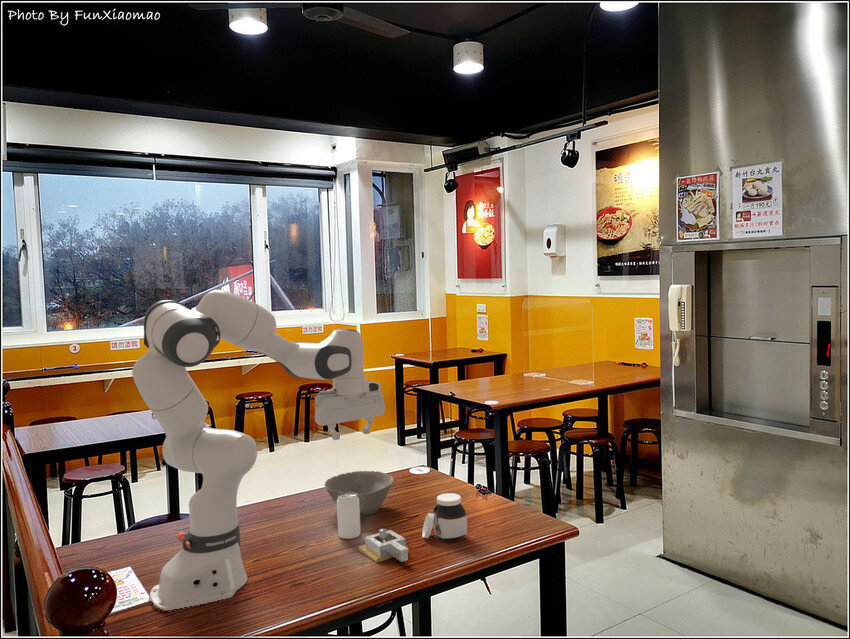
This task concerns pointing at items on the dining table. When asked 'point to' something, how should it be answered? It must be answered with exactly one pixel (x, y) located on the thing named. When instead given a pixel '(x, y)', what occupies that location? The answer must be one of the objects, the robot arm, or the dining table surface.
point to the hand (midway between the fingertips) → (351, 436)
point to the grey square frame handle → (388, 546)
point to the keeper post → (370, 554)
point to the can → (348, 515)
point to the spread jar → (447, 519)
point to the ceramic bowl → (362, 488)
